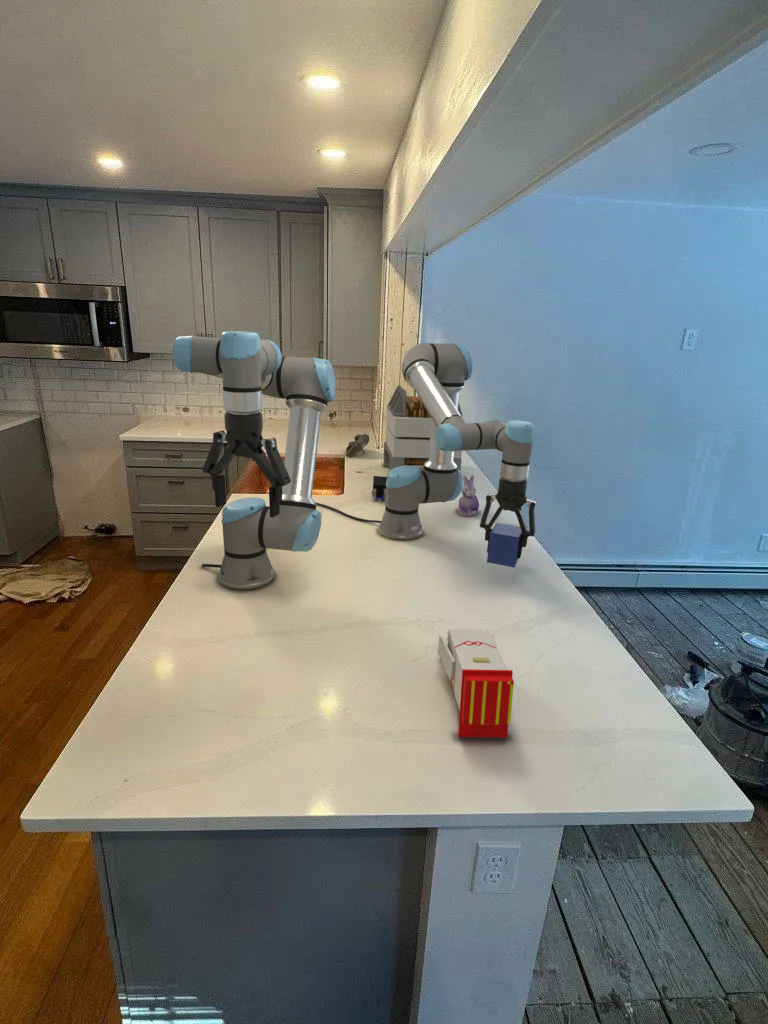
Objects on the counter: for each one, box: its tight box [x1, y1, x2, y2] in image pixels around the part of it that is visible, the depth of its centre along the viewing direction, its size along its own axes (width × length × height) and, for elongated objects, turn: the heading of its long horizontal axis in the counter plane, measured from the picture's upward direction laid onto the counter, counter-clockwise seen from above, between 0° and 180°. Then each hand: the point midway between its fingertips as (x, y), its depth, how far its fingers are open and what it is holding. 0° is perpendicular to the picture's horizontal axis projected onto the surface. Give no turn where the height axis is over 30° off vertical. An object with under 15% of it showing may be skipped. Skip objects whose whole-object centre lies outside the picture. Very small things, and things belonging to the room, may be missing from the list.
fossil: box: [345, 433, 370, 458], centre depth 306 cm, size 22×10×15 cm
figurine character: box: [371, 475, 387, 502], centre depth 236 cm, size 7×8×15 cm
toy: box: [437, 628, 515, 738], centre depth 117 cm, size 12×13×30 cm
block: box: [486, 522, 522, 569], centre depth 162 cm, size 9×8×9 cm
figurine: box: [457, 474, 480, 517], centre depth 221 cm, size 9×10×15 cm
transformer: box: [383, 384, 466, 473], centre depth 268 cm, size 34×33×41 cm
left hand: (247, 510), depth 122 cm, fingers open, 13 cm apart
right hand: (504, 553), depth 163 cm, fingers closed on block, 8 cm apart
